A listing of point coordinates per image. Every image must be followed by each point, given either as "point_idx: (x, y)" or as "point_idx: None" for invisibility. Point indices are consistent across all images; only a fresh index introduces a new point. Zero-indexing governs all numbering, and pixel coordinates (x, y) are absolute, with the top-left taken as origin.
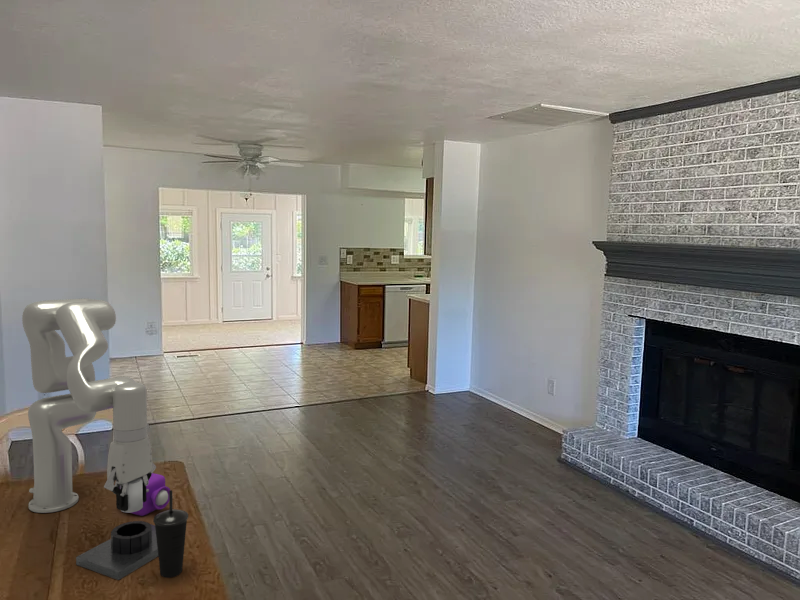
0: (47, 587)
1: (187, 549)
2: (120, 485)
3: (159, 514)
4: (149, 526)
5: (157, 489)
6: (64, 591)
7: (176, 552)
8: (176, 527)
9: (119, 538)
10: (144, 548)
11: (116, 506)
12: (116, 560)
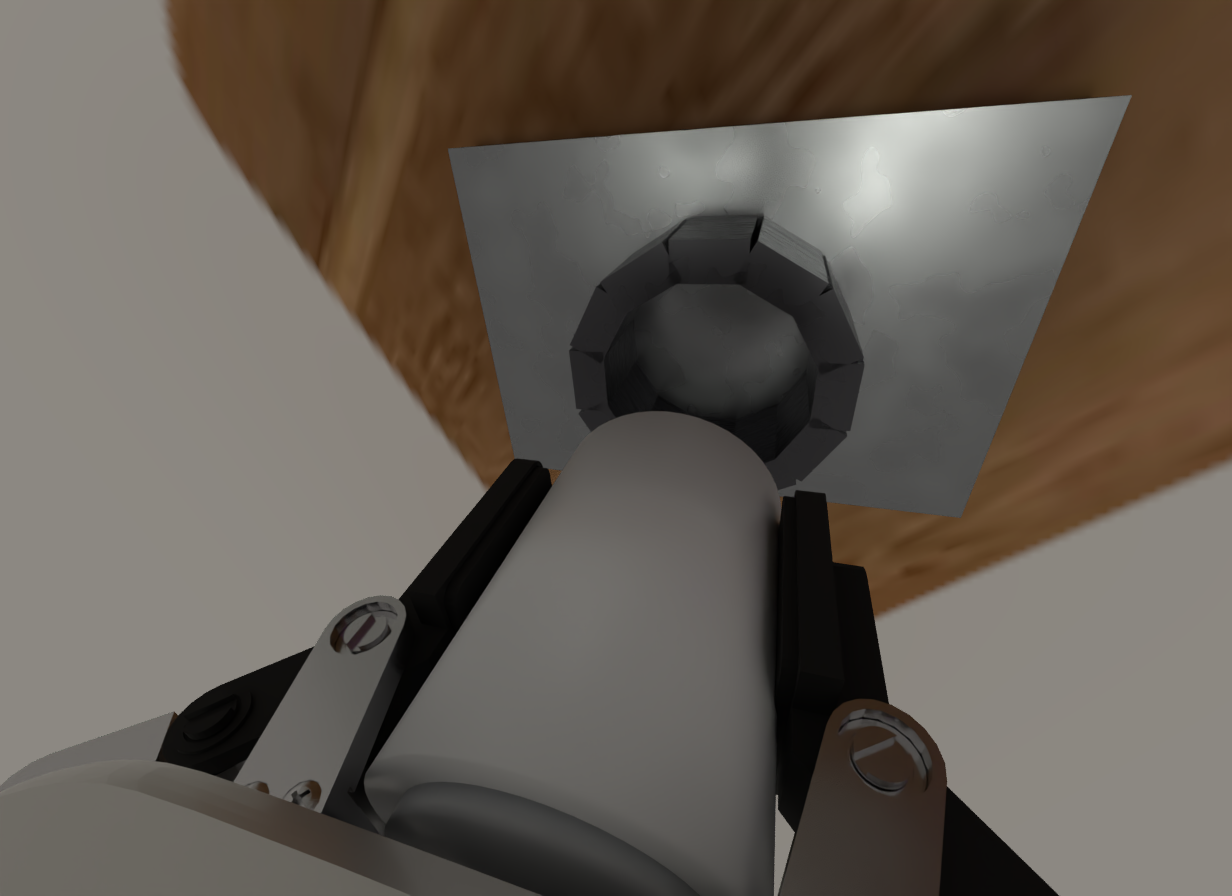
0: (319, 221)
1: (867, 544)
2: (399, 721)
3: None
4: (799, 466)
5: None
6: (364, 317)
7: None
8: None
9: (577, 405)
10: None
11: (508, 466)
12: (563, 393)
